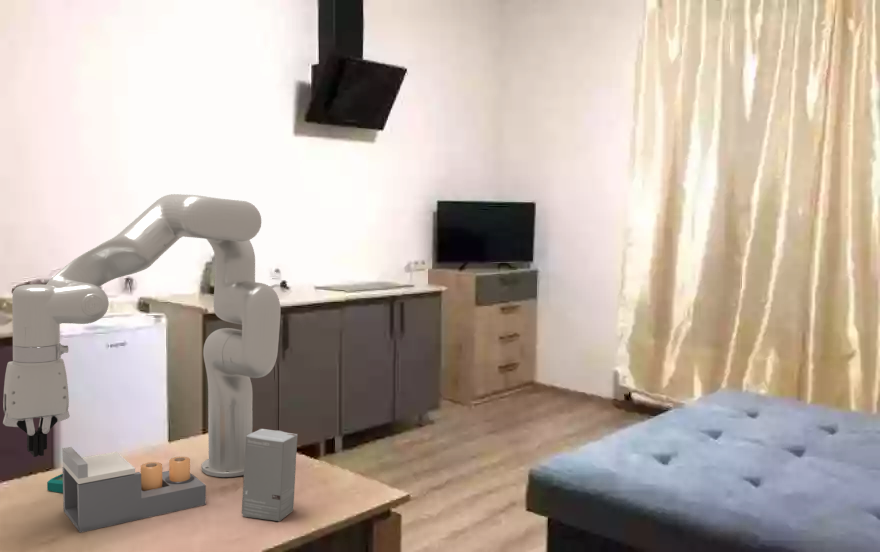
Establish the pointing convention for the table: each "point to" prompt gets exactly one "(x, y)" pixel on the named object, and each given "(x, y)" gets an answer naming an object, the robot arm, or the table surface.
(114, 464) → the lid
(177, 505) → the housing
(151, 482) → the peg
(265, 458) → the skincare box
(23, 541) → the table surface
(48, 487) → the digital multimeter
